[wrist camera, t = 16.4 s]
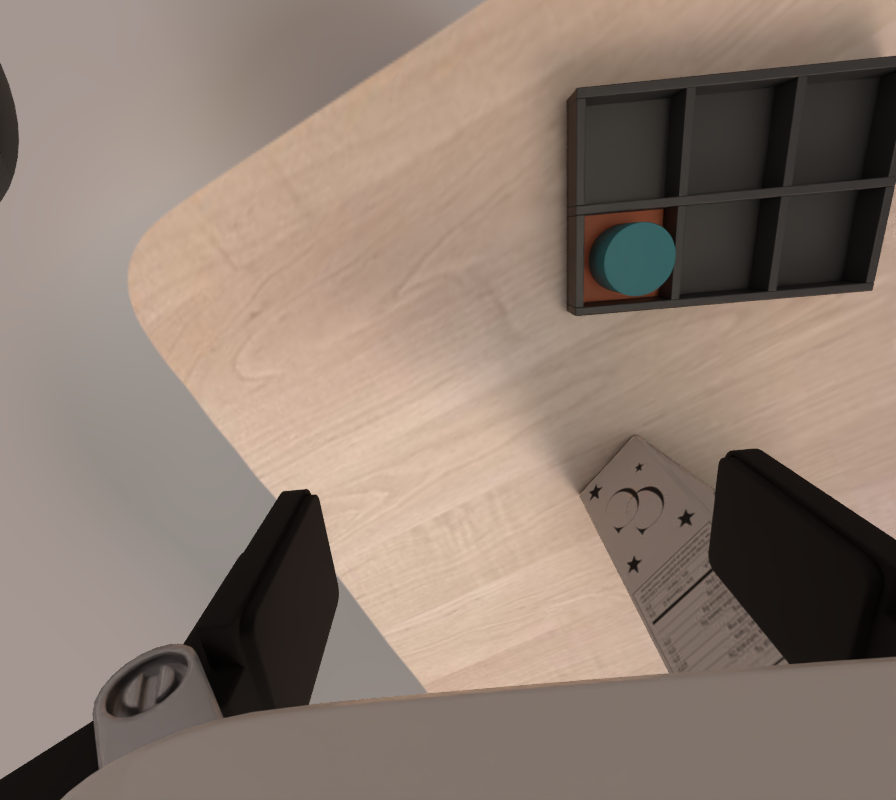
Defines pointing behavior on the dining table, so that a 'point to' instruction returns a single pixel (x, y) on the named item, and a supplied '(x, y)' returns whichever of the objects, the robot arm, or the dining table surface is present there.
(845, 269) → the grid
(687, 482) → the cereal box
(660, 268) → the cylinder
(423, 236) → the dining table surface
